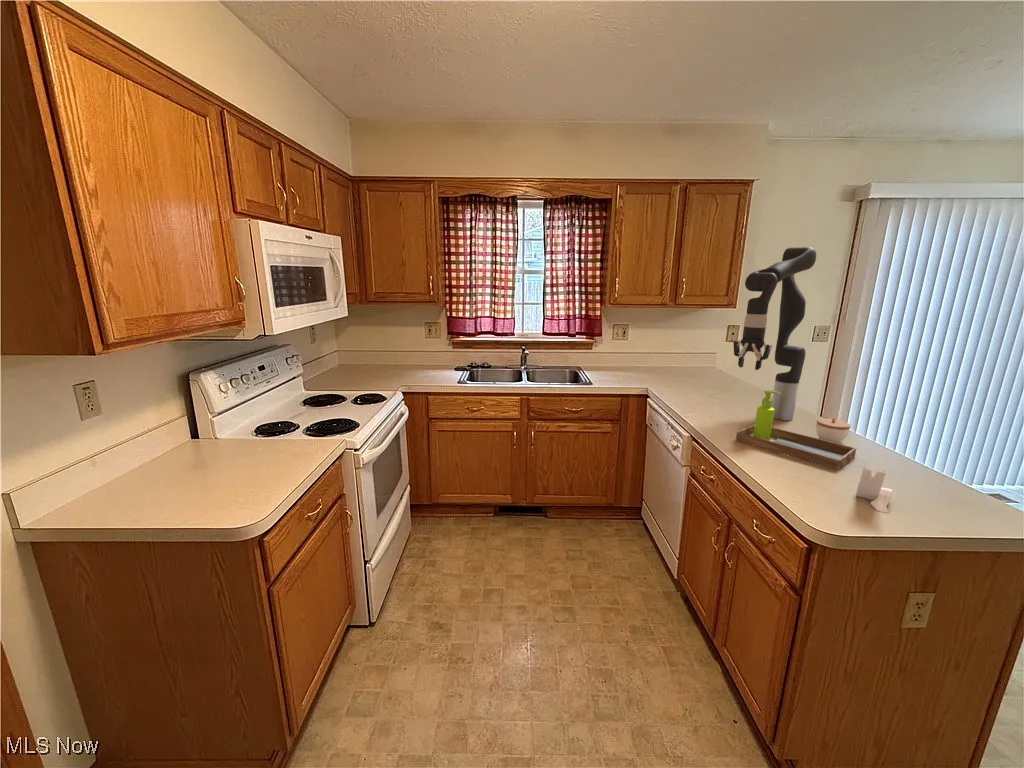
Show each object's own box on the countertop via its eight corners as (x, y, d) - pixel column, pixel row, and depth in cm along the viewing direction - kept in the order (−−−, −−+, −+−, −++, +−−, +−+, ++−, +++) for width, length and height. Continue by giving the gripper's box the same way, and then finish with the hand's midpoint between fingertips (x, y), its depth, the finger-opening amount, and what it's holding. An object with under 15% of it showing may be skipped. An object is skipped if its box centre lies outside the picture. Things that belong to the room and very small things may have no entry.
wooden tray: (755, 431, 183) (756, 423, 183) (854, 457, 158) (856, 448, 157) (735, 440, 172) (736, 432, 172) (838, 470, 147) (840, 460, 146)
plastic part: (888, 500, 127) (897, 463, 124) (889, 514, 120) (899, 474, 117) (856, 492, 132) (864, 456, 129) (855, 505, 124) (863, 467, 121)
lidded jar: (839, 438, 177) (844, 415, 175) (851, 447, 167) (856, 424, 165) (809, 435, 180) (813, 413, 178) (819, 444, 170) (823, 421, 168)
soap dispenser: (774, 443, 170) (782, 393, 165) (754, 441, 172) (761, 391, 168) (770, 438, 176) (778, 389, 171) (751, 436, 178) (758, 388, 173)
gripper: (779, 326, 167) (772, 370, 171) (740, 323, 178) (734, 364, 182) (770, 328, 163) (764, 372, 167) (731, 324, 173) (726, 366, 177)
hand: (748, 368), depth 174 cm, fingers open, 5 cm apart
